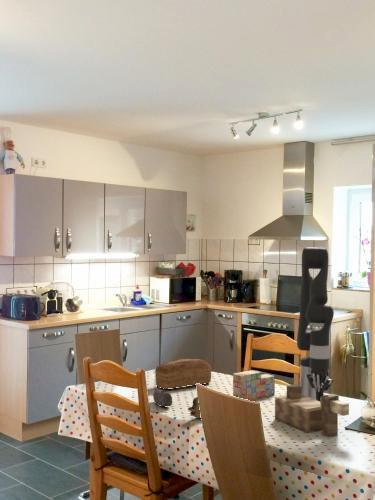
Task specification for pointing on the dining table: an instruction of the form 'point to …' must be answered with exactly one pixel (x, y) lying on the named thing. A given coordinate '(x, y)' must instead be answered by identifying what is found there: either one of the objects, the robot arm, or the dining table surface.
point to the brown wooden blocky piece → (309, 417)
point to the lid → (298, 399)
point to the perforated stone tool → (162, 398)
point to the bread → (182, 373)
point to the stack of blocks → (253, 384)
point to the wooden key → (338, 407)
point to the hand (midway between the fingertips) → (319, 400)
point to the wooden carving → (195, 408)
